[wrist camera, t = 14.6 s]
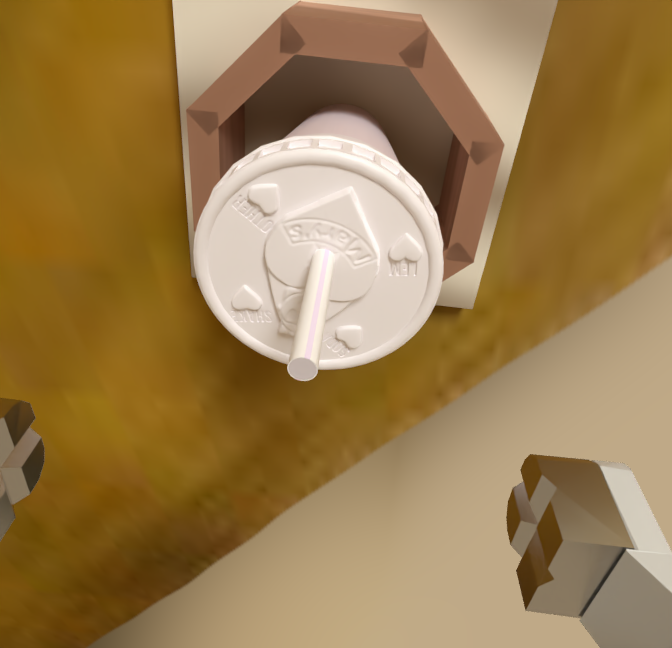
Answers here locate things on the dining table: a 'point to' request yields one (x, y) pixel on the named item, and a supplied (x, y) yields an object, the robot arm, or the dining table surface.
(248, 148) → the bottle stand
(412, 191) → the smoothie
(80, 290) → the dining table surface
